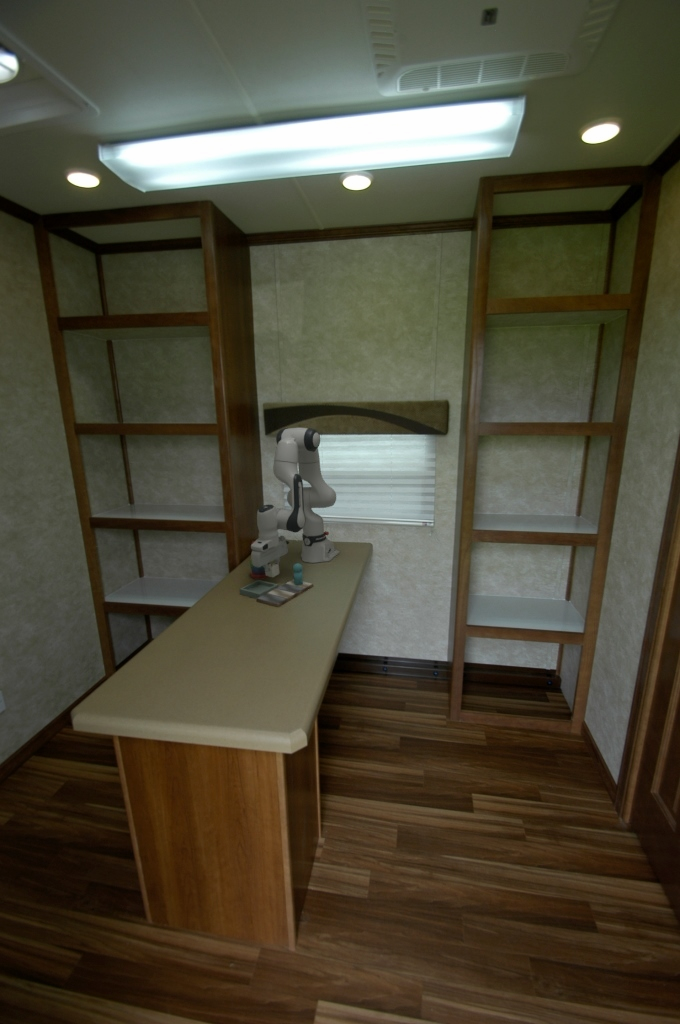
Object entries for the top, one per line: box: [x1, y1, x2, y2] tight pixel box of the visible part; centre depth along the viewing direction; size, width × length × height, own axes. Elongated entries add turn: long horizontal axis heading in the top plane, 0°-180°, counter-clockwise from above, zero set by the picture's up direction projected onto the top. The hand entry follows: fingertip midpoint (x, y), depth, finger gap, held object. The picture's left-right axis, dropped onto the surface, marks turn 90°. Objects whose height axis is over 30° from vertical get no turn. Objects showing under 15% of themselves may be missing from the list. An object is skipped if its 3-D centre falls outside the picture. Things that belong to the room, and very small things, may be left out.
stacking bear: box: [249, 540, 271, 580], centre depth 207 cm, size 11×10×18 cm
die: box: [265, 562, 281, 578], centre depth 196 cm, size 4×4×4 cm
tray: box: [238, 579, 279, 600], centre depth 189 cm, size 12×12×2 cm
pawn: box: [292, 563, 304, 585], centre depth 192 cm, size 4×4×10 cm
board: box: [255, 578, 314, 608], centre depth 186 cm, size 24×12×1 cm, turn 147°
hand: (271, 569), depth 196 cm, fingers closed on die, 4 cm apart
